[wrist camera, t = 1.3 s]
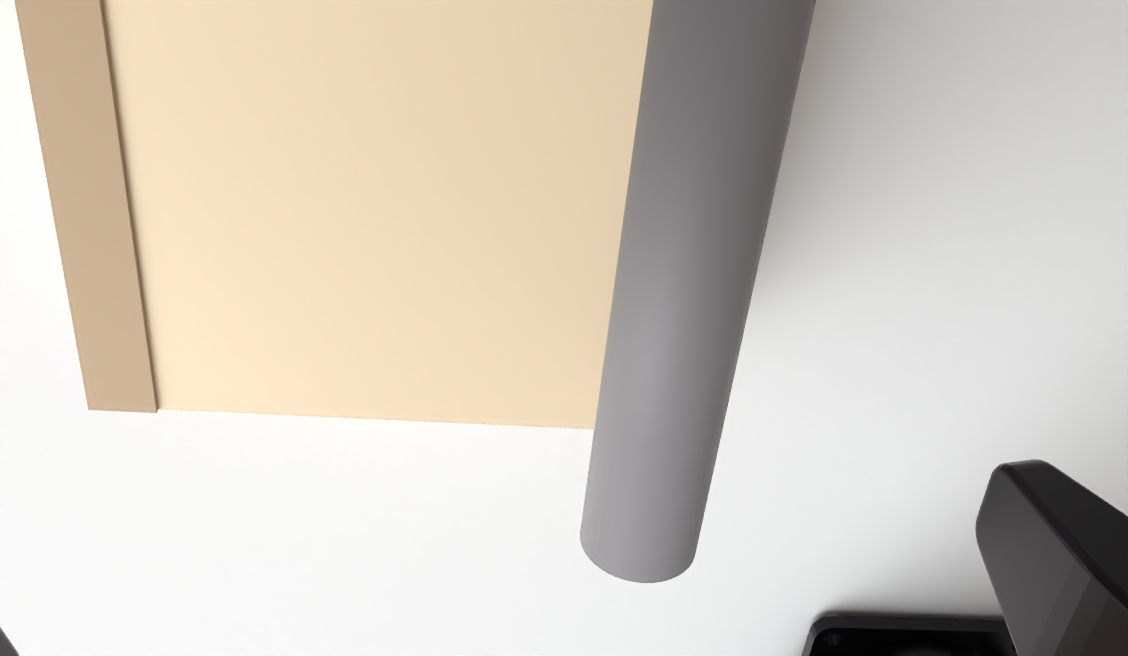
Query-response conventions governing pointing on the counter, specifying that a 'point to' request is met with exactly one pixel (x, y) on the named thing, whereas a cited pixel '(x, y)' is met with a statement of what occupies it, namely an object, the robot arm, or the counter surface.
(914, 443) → the counter surface
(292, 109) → the flap
